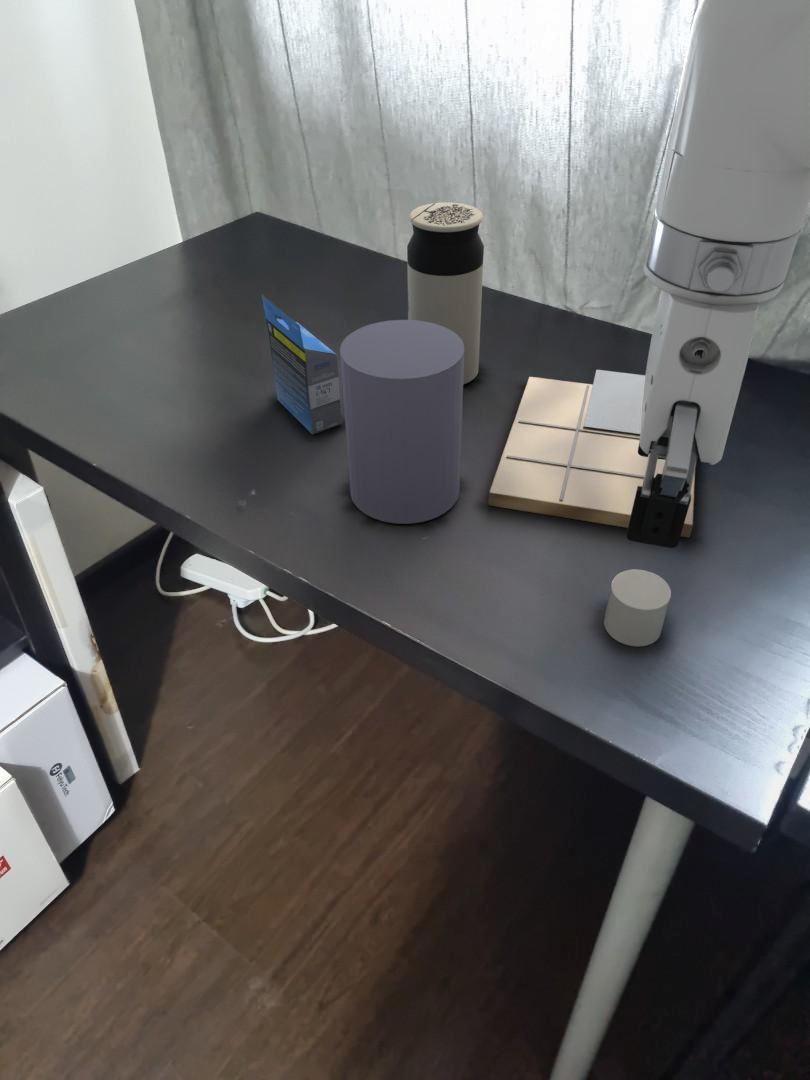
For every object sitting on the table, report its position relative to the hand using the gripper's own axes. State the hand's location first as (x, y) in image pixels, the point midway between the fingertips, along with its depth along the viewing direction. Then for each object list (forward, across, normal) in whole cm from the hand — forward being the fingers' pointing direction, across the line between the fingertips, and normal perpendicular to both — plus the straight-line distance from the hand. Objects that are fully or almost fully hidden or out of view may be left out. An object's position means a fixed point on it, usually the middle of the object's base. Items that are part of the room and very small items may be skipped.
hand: (655, 496), depth 57 cm
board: (+13, +24, +4) cm, 28 cm away
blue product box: (+14, +23, +35) cm, 44 cm away
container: (+13, +12, +21) cm, 28 cm away
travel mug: (+13, +35, +23) cm, 44 cm away
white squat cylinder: (+12, 0, -1) cm, 13 cm away
